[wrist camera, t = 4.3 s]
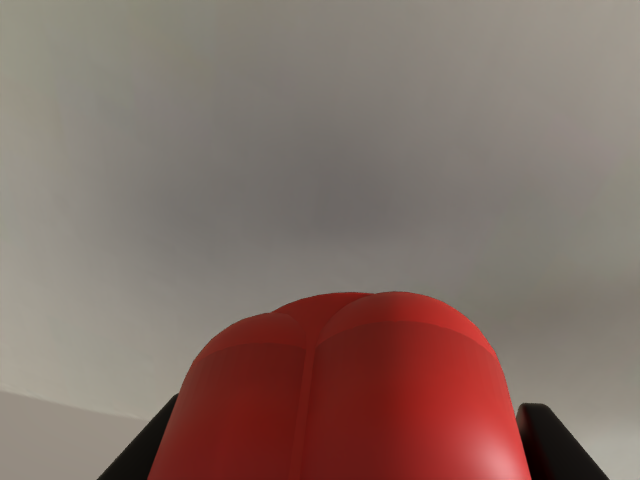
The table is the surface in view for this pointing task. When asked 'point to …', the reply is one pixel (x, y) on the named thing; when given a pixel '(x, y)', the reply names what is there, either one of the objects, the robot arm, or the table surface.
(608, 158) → the table surface
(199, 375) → the pepper
